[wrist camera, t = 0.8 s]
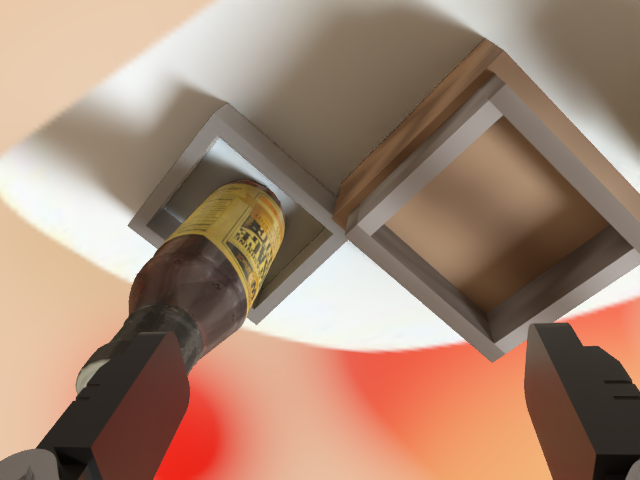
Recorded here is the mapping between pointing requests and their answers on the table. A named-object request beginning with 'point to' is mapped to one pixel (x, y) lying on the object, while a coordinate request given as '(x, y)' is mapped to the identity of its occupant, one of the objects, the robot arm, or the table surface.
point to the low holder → (276, 168)
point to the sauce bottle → (203, 275)
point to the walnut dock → (492, 206)
